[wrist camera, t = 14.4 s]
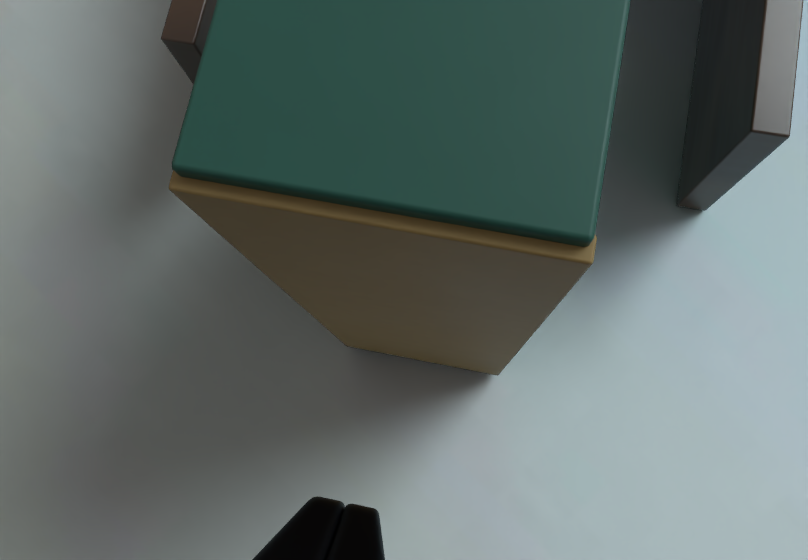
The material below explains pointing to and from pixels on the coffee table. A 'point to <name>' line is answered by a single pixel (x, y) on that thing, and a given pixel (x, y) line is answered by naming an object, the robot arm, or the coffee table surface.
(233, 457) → the coffee table surface
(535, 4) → the book
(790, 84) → the book rack
